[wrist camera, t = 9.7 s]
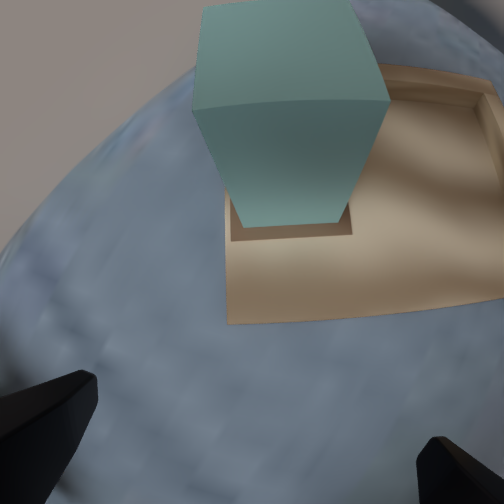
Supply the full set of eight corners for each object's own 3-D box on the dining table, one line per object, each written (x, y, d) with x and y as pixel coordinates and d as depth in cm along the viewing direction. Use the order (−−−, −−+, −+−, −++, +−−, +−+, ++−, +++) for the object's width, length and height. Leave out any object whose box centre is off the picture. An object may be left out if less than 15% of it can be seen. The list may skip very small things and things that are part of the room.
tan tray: (530, 292, 15) (553, 287, 12) (228, 324, 17) (219, 324, 14) (477, 99, 18) (490, 80, 16) (226, 92, 20) (220, 68, 18)
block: (338, 222, 17) (390, 101, 7) (243, 228, 17) (191, 110, 7) (326, 141, 18) (348, -1, 8) (241, 146, 18) (203, 7, 8)
